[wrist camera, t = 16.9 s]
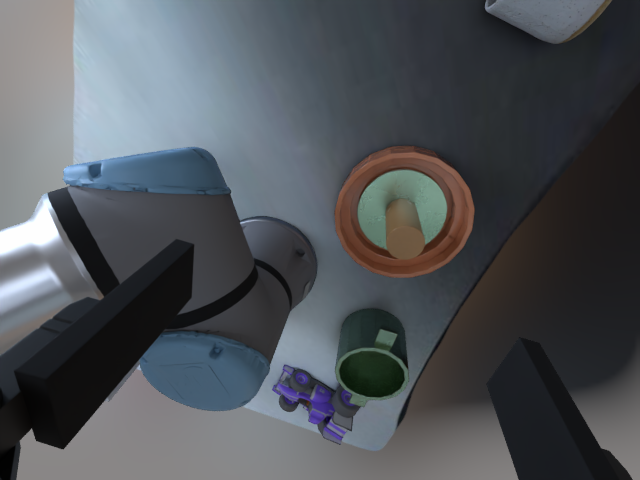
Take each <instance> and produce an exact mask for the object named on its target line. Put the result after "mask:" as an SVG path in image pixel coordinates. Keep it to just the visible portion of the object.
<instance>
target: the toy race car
mask: <svg viewBox="0 0 640 480" xmlns="http://www.w3.org/2000/svg"><path fill="white" fill-rule="evenodd" d="M283 370H284V372H283V374H282V376H281V378H280V380H279V382H278V384H277V386H275V385H274V387H273V389H272V390H273V391H274V392H276V393H277V394H279V395H281V396H280V398H279V404H280V407H281V408H282V409H283V410H285V411H287V412H292V411H294V410H295V409H296V408H297V406H298V405H299V403H300V404H302V405H304V406H303V408H304V409H306V410H307V411H309V419H308V421H309V422H311V423H313V424H317V425H318V429H319V431H320V433H321V434H322V436H323V437H324V438H325V439H327V440H330V441H332V442H335V443H337V444H339V445H340V444H341V441H342V438H343V436H344V434H345V433H346V432H347V430H350V431H352V423H353V416H354V415H355V414H356V412H357V411H358V410H359V408H360V407H361V406H358V405H355V404H351V403H349V400H350V396H351V393H349V392H348V391H346V390H345V389H344V388H343V387H342V386H340V387H339V388H338V389H337V391H336V392H334V391H333V390H331V389H330V388H328V387H327V386H325V385H324V384H322V383H321V382H319V381H317V380H315V379H312V378H311V377H310V375H309V374H308V373H307V372H306V371H304V370H296V371H294V369H293V368H291V367H289V366H286V365H284V367H283ZM293 371H294V372H293ZM292 373H293V374H292ZM288 374H290V375H291V374H292V376H291V378H290V384H289V386H287V385H284V384H283V381H284V380H285V378H286V376H287V375H288ZM281 393H282V394H281Z"/></svg>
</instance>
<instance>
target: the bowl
mask: <svg viewBox="0 0 640 480" xmlns="http://www.w3.org/2000/svg"><path fill="white" fill-rule="evenodd" d="M397 169H411V170H416V171H419V172H422V173H424V174H426V175H428V176H429V177H431V178H432V179H433V180H434V181H435V182H437V184H438V185H439V186H440V187H441V189H442V191H443V193H444V195H445V198H446V202H447V216H446V220H445V223H444V226H443V227H442V229H441V231H440V232H439V233H438V235H437V236H436V237H435V238H434V239H433V240H432V241H430V242H429V243H428V244H426V245H425V246H424V249H423V251H422V252H421V253H420V254H419V255H418V256H416V257H415V258H412V259H408V260H402V259H398V258H396V257H394V256H392V255H391V254H390V253H389V251H388V250H386V249H383V248H381V247H379V246H377V245H375V244H374V243H372V242H371V241H370V240H369V239H368V238H367V237H366V236H365V235H364V233H363V232H362V230H361V228H360V225H359V222H358V217H357V208H358V202H359V199H360V196H361V194H362V192H363V191H364V189H365V188H366V186H367V185H368V184H369V183H370V182H371V181H372V180H374V179H375V178H376V177H378V176H379V175H381V174H383V173H386V172H388V171H392V170H397ZM474 211H475V208H474V204H473V200H472V196H471V192H470V189H469V187H468V186H467V184H466V183H465V182H464V180H463V179H462V177H461V176H460V175H459V173H458V172H457V170H456V169H455V168H454V167H453V165H452V164H451V163H450V162H449V161H447V160H446V159H444V158H443V157H441V156H440V155H438V154H437V153H435V152H434V151H431V150H427V149H423V148H419V147H416V146H397V147H389V148H386V149H383V150H381V151H378V152H376V153H373V154H370V155H369V156H368V157H366V158H365V159H364V160H363V161H361V162H360V163H359V164H358V165H356V166H355V167H354V168H353V169H352V171H351V172H350V174H349V175H348V177H347V178H346V180H345V181H344V183H343V185H342V188H341V191H340V194H339V198H338V201H337V205H336V209H335V225H336V232H337V235H338V237H339V239H340V242H341V244H342V246H343V248H344V250H345V251H346V252H347V253H348V254H349V255H350V256H351V258H352V259H353V260H354V261H355V262H356V263H358V264H360V265H361V266H363V267H364V268H366V269H368V270H369V271H371V272H373V273H377V274H380V275H384V276H387V277H396V278H410V277H415V276H419V275H423V274H427V273H431V272H433V271H434V270H436V269H438V268H440V267H442V266H443V265H445V264H447V263H448V262H450V261H451V260H452V258H453V257H454V256H455V255H456V254H457V253H458V252H459V251H460V250H461V249H462V248H463V247H464V245H465V243H466V241H467V239H468V237H469V235H470V233H471V231H472V227H473V219H474Z"/></svg>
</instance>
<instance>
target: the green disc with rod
mask: <svg viewBox="0 0 640 480" xmlns="http://www.w3.org/2000/svg"><path fill="white" fill-rule="evenodd" d="M446 216H447V202H446V198H445V195H444V193H443V191H442V189H441V187H440V186H439V185H438V184H437V182H435V181H434V180H433V179H432V178H431V177H429V176H428V175H426V174H424V173H422V172H419V171H416V170H411V169H397V170H392V171H388V172H386V173H383V174H381V175H379V176H378V177H376V178H375V179H374V180H372V181H371V182H370V183H369V184H368V185H367V186H366V188H365V189H364V191H363V192H362V194H361V196H360V199H359V202H358V208H357V217H358V222H359V225H360V228H361V230H362V232H363V233H364V235H365V236H366V237H367V238H368V239H369V240H370V241H371V242H372V243H374V244H375V245H377V246H379V247H381V248H383V249H386V250H388V251H389V253H390V254H391V255H392V256H394V257H396V258H398V259H402V260H408V259H412V258H415V257H416V256H418V255H419V254H420V253H421V252H422V251H423V249H424V246H425V245H426V244H428V243H429V242H430V241H432V240H433V239H434V238H435V237H436V236H437V235H438V233H439V232H440V231H441V229H442V227H443V226H444V223H445V220H446Z"/></svg>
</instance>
